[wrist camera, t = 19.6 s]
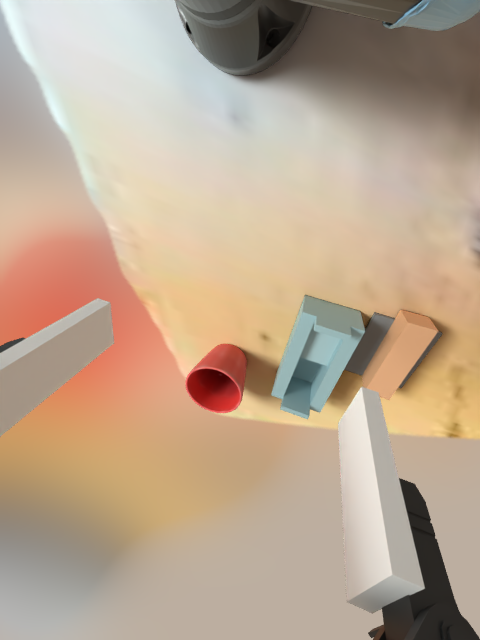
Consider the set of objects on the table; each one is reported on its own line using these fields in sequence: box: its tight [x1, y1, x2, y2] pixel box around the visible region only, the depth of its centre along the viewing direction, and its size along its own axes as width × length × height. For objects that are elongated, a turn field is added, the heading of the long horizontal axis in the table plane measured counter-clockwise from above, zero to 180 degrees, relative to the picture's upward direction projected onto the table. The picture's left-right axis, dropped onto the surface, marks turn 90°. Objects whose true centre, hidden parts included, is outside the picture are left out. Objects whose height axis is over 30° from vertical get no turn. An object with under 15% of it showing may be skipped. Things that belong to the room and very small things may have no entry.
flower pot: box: [186, 344, 247, 413], centre depth 50 cm, size 11×11×10 cm
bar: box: [362, 310, 438, 400], centre depth 41 cm, size 14×4×4 cm, turn 170°
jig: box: [271, 295, 365, 419], centre depth 43 cm, size 18×9×9 cm, turn 169°
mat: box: [344, 312, 442, 388], centre depth 43 cm, size 12×10×1 cm
